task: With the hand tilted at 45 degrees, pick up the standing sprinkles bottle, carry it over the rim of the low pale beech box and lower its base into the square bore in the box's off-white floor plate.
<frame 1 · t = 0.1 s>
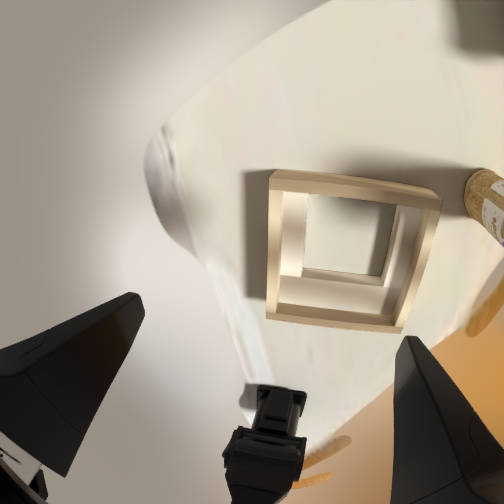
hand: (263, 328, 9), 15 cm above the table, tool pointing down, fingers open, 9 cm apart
box: (346, 248, 22), on the table
sprinkles bottle: (482, 193, 17), on the table
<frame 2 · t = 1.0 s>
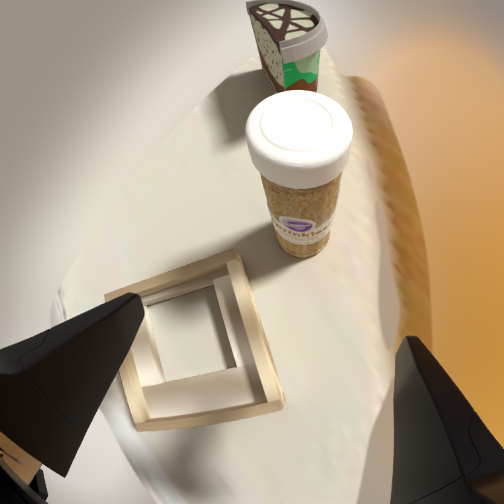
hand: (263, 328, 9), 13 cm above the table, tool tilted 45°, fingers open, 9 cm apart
food container: (298, 84, 28), on the table
box: (194, 348, 22), on the table
sprinkles bottle: (303, 232, 23), on the table
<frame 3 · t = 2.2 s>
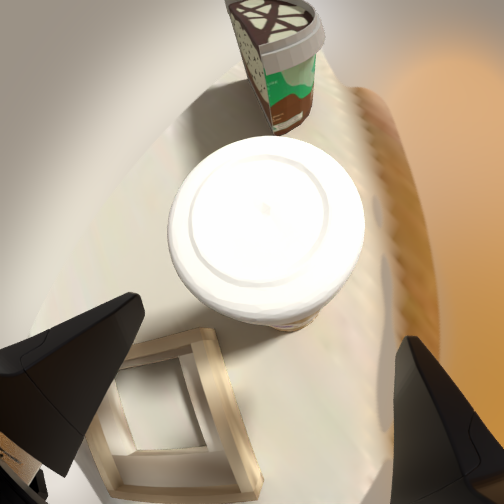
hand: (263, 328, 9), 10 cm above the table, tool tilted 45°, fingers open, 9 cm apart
food container: (290, 97, 24), on the table
box: (163, 422, 17), on the table
sprinkles bottle: (289, 297, 19), on the table
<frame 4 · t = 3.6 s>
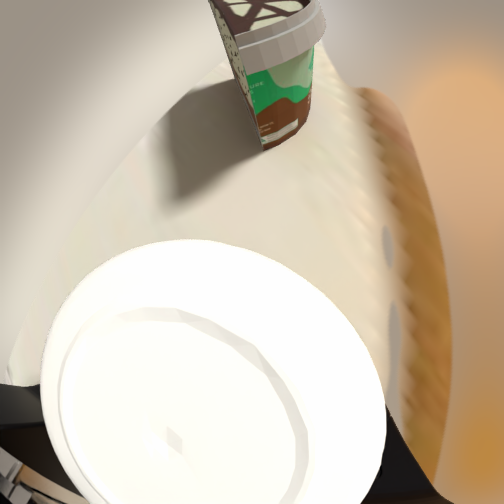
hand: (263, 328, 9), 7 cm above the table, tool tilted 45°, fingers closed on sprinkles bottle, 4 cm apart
food container: (284, 100, 20), on the table
sprinkles bottle: (277, 354, 15), on the table, touching gripper
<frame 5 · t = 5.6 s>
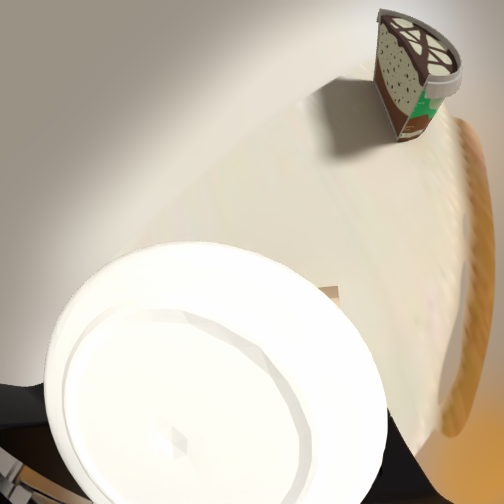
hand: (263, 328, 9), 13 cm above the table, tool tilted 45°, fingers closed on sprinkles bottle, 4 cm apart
food container: (409, 110, 24), on the table
sprinkles bottle: (278, 352, 15), point 6 cm above the table, touching gripper
when the fingers open (8 cm above the table, at t = 7.5 s): sprinkles bottle stays where it is, resting in box.
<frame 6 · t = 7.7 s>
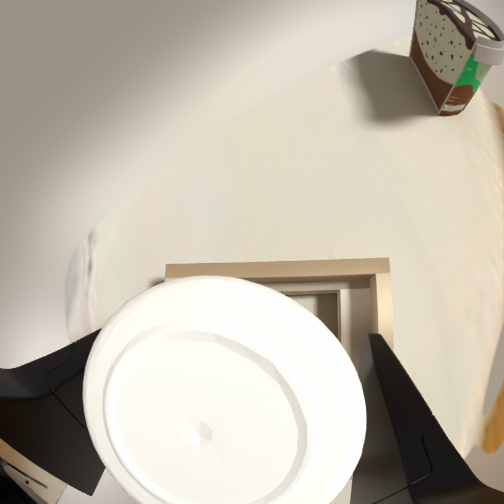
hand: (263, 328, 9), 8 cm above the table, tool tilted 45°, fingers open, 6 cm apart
food container: (447, 88, 19), on the table
box: (277, 372, 15), on the table
sprinkles bottle: (279, 356, 16), resting in box
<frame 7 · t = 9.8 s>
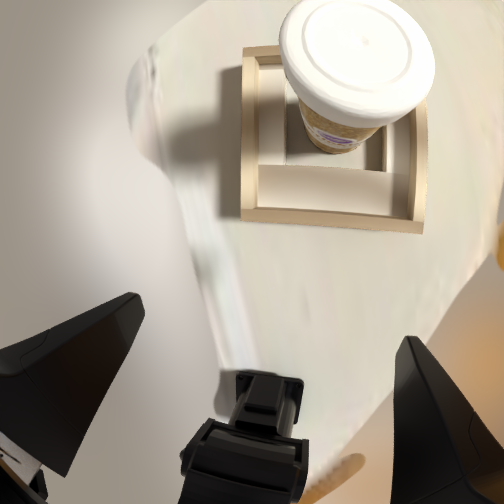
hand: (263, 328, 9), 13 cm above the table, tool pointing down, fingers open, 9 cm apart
box: (335, 136, 18), on the table
sprinkles bottle: (335, 124, 18), resting in box
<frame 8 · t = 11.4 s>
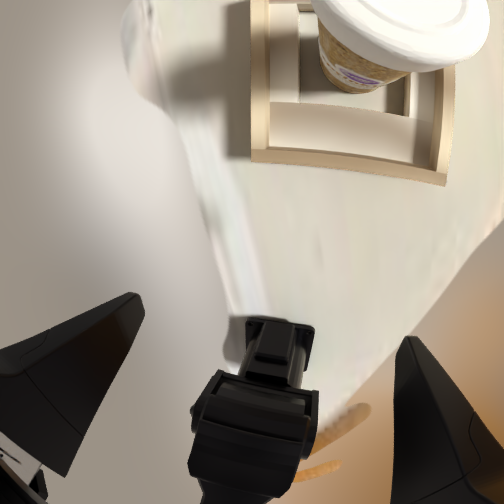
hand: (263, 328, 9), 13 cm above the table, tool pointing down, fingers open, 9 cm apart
box: (353, 75, 14), on the table
sprinkles bottle: (354, 62, 14), resting in box
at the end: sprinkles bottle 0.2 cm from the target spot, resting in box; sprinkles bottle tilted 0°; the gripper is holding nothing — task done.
